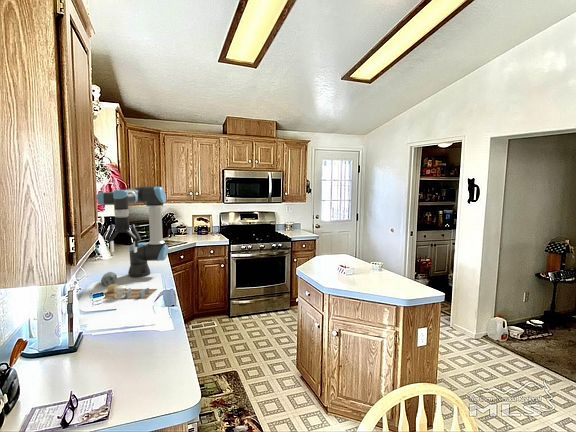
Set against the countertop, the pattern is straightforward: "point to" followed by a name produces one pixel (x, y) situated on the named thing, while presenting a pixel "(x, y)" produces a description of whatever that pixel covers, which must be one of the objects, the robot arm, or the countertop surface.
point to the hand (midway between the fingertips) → (124, 252)
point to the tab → (111, 288)
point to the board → (133, 294)
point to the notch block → (141, 293)
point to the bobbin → (120, 292)
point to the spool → (108, 278)
